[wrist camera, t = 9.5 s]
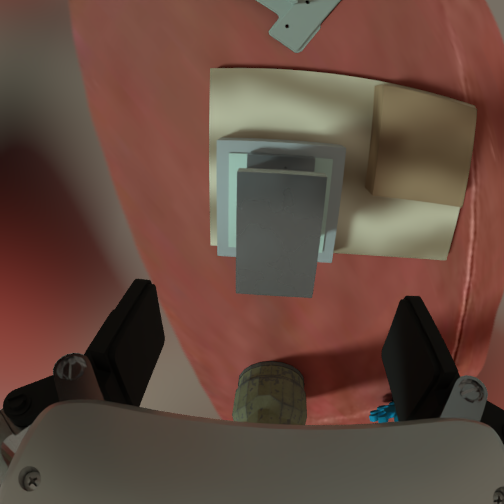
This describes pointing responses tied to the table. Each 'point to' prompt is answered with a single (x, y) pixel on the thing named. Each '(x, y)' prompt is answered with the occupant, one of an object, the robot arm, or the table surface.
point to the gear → (384, 413)
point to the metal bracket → (298, 20)
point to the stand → (419, 147)
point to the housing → (278, 224)
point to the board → (333, 132)
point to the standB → (236, 151)
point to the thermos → (270, 395)
